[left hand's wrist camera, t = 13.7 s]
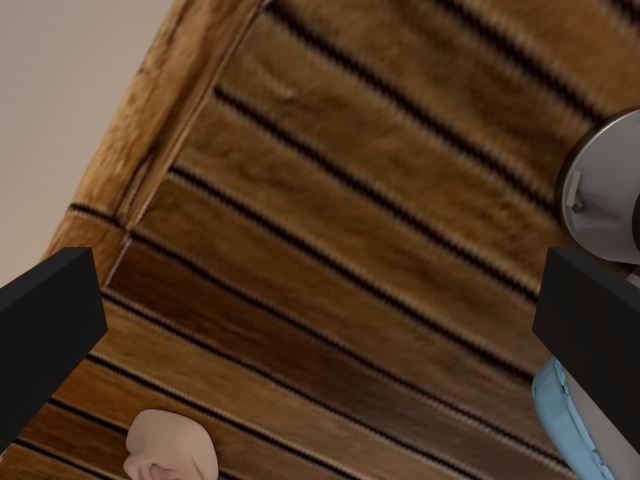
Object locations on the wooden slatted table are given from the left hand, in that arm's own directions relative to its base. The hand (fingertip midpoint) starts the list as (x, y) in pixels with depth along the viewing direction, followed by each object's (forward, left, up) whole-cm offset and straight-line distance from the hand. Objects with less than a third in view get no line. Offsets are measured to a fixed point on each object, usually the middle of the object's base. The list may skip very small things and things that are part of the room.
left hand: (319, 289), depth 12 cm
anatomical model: (-3, +43, -31) cm, 53 cm away
